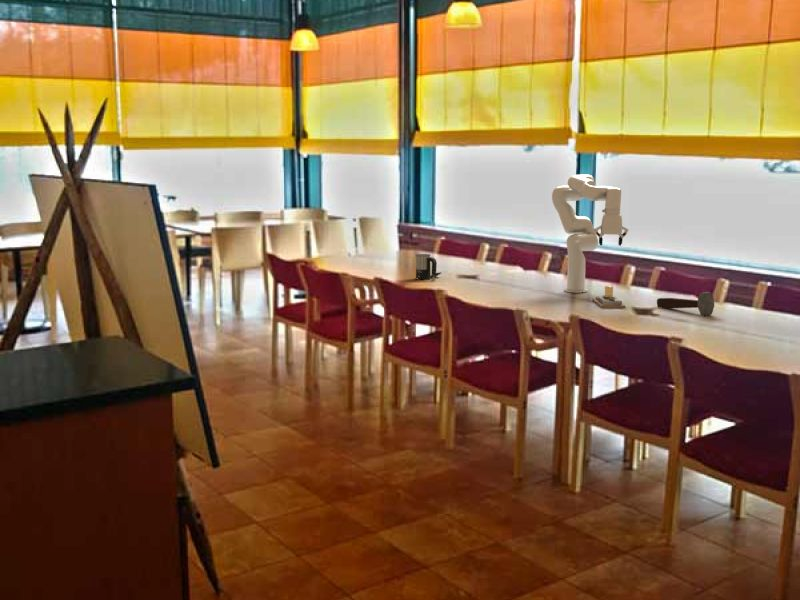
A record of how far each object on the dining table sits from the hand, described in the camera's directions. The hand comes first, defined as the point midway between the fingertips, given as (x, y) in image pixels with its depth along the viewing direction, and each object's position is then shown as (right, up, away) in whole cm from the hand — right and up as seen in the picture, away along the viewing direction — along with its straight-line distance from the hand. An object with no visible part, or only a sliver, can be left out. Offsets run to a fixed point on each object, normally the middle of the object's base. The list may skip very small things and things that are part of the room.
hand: (610, 245), depth 441 cm
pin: (-2, -30, -6) cm, 31 cm away
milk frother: (-91, -15, +77) cm, 120 cm away
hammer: (+30, -34, -24) cm, 51 cm away
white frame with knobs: (-2, -30, -6) cm, 31 cm away
